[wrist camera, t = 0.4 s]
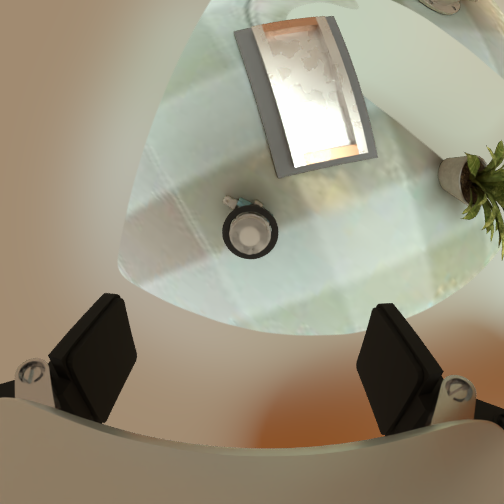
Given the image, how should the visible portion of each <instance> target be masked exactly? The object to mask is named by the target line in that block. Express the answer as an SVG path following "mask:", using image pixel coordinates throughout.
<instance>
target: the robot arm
mask: <svg viewBox="0 0 504 504" xmlns="http://www.w3.org/2000/svg"><path fill="white" fill-rule="evenodd" d="M419 1H420V2H422V3H423V4H424V5H426V6H427V7H429V8H431V9H432V10H435V11H437V12H439V13H442V14H446V15H451V14H454V13H456V12H457V11H459V9H460V0H419ZM471 1H474V2H476V1H477V0H471ZM48 356H49V358H50V360H51V361H50V362H49V363H47V362H46V361H45V360H43V359H39V358H33V359H29V360H26V361H25V362H23V363H22V364H21V365H20V366H19V367H18V368H17V370H16V373H15V380H13V381H10V382H6V383H3V384H0V504H504V409H502V408H500V407H497V406H494V405H491V404H489V403H486V402H483V401H481V400H478V399H476V389H475V387H474V385H473V384H472V383H471V382H470V381H469V380H467V379H466V378H464V377H462V376H458V375H451V376H448V377H446V378H445V379H443V378H442V376H441V375H442V373H443V370H442V369H441V367H440V366H439V364H438V363H437V361H436V360H435V358H434V357H433V356H432V354H431V353H430V351H429V350H428V349H427V347H426V346H425V345H424V343H423V342H422V341H421V339H420V338H419V336H418V335H417V334H416V332H415V331H414V330H413V328H412V327H411V326H410V325H409V323H408V322H407V321H406V319H405V318H404V317H403V315H402V314H401V313H400V312H399V310H398V309H397V308H396V307H395V305H394V304H393V303H386V304H378V305H377V306H376V308H373V310H372V313H371V316H370V320H369V324H368V327H367V331H366V334H365V337H364V341H363V344H362V347H361V350H360V353H359V356H358V360H357V364H356V366H357V371H358V373H359V376H360V379H361V381H362V384H363V386H364V389H365V392H366V394H367V397H368V400H369V402H370V405H371V408H372V410H373V413H374V416H375V418H376V421H377V424H378V427H379V430H380V432H381V434H382V435H385V436H384V437H380V438H374V439H369V440H363V441H358V442H351V443H344V444H336V445H327V446H318V447H304V448H283V449H282V448H280V449H252V448H251V449H250V448H231V447H218V446H207V445H198V444H190V443H183V442H177V441H171V440H165V439H160V438H155V437H150V436H145V435H141V434H136V433H133V432H129V431H125V430H121V429H117V428H114V427H110V426H107V425H104V424H102V422H103V423H105V422H106V421H107V419H108V417H109V415H110V412H111V410H112V408H113V406H114V404H115V402H116V400H117V398H118V396H119V394H120V392H121V389H122V388H123V386H124V383H125V382H126V380H127V377H128V376H129V374H130V372H131V369H132V368H133V366H134V364H135V362H136V358H137V353H136V349H135V345H134V341H133V337H132V334H131V329H130V325H129V321H128V316H127V312H126V307H125V302H124V300H123V299H122V298H120V296H119V295H118V294H110V293H104V294H103V295H102V296H101V297H100V298H99V299H98V300H97V301H96V302H95V303H94V304H93V306H92V307H91V308H90V309H89V310H88V311H87V312H86V313H85V314H84V315H83V316H82V317H81V319H80V320H79V321H78V322H77V323H76V324H75V325H74V326H73V327H72V328H71V329H70V331H69V332H68V333H67V334H66V335H65V336H64V337H63V339H62V340H61V341H60V342H59V343H58V344H57V346H56V347H55V348H54V349H53V350H52V351H51V353H50V354H49V355H48Z"/></svg>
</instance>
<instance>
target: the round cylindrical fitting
mask: <svg viewBox="0 0 504 504" xmlns="http://www.w3.org/2000/svg"><path fill="white" fill-rule="evenodd" d="M227 200H229V201H227ZM223 203H225V204H226V205H228V206H230V208H231V209H233V211H232V212H231V213H230V214H229V215H228V216H227V218H226V220H225V222H224V225H223V230H222V234H223V240H224V242H225V244H226V246H227V247H228V249H229V250H230V251H231V252H232V253H234V254H235V255H237V256H239V257H241V258H245V259H257V258H260V257H263V256H265V255H266V254H268V253H269V252H270V251H271V250H272V249H273V248H274V246H275V244H276V242H277V239H278V226H277V223H276V220H275V219H274V217H273V215H272V214H271V213H270V212H268V211H267V210H266V209H264V208H262V207H263V204H262V203H260V202H259V201H257V200H255V202H254V204H252V203H250V202H248V201H247V200H245V199H243V198H240V199H239V200H237V199H235V198H234V199H232V198H230V197H229V196H226V197H225V198H224V200H223ZM234 218H235V220H234V222H233V223H232V224H231V222H232V220H233V219H234ZM230 225H231V226H230ZM270 225H271V228H272V231H271V230H270V227H269V226H270Z"/></svg>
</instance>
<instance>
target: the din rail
mask: <svg viewBox="0 0 504 504" xmlns="http://www.w3.org/2000/svg"><path fill="white" fill-rule="evenodd" d="M251 28H252V35H253V38H254V40H255V43H256V46H257V49H258V52H259V55H260V58H261V61H262V63H263V66H264V69H265V73H266V76H267V79H268V82H269V85H270V88H271V91H272V94H273V98H274V101H275V104H276V108H277V111H278V114H279V118H280V121H281V125H282V128H283V132H284V135H285V139H286V143H287V146H288V150H289V154H290V157H291V161H292V165H293V167H295V168H296V167H300V166H304V165H309V164H313V163H318V162H323V161H328V160H332V159H337V158H342V157H348V156H353V155H358V154H364V153H368V149H367V145H366V140H365V136H364V132H363V127H362V123H361V120H360V116H359V112H358V108H357V105H356V101H355V98H354V94H353V91H352V88H351V85H350V81H349V78H348V75H347V72H346V69H345V66H344V63H343V61H342V58H341V55H340V52H339V50H338V47H337V44H336V42H335V39H334V37H333V34H332V32H331V30H330V27H329V25H328V22H327V20H326V18H325V16H320V17H309V18H300V19H292V20H285V21H279V22H273V23H267V24H262V25H257V26H253V27H251Z"/></svg>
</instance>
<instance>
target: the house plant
mask: <svg viewBox="0 0 504 504" xmlns="http://www.w3.org/2000/svg"><path fill="white" fill-rule="evenodd" d="M487 148H488V147H487ZM488 150H489V152H490V154H491V156H492V158H493V159H492V160H491V162H490V163H489V164H488V165H487V163H486V162H485V161H484V159H482V158H481V157H480V156H476V155H470V154H467V153H465V154H466V155H467V156H464V157H455V158H447V159H445V160H444V161H443V162H442V163H441V165H440V167H439V172H438V177H439V182H440V185H441V186H442V188H443V189H444V190H445V191H447V192H448V193H450V194H451V195H453V196H454V197H456V198H457V199H459V200H460V201H462V202H463V203H464V204H466V205H467V206H468V207H467V209H465V210H464V212H463V213H462V214H465V213H467V212H468V213H467V215H466V216H465V217H464V218H461V219H468V220H470V219H473V218H474V217H476V215H477V214H478V212H479V210H480V207H481V206H483V209H484V214H485V225H484V227H483V229H485V228H486V229H487V233H488V232H489V231H490V230H491V241H492V237H493V233H494V225H493V221H494V219H496V230H497V229H498V231H499V245H500V243H501V239H502V260H503V255H504V223H503V219H502V216H501V213H500V210H499V207H498V205H497V203H496V201H497V202H498V203H499V204H500V205H501V207H502V208H503V210H504V169H502V168H503V167H504V165H503V166H502V167H501V168H500V169H498V170H496V171H495V169H496V168H497V167H498V166H499V165H500V164H501V163H502V161H503V159H504V146H503V143H502V141H500V142H499V143H498V145H497V147H496V150H495V153H494V154H493V152H492V151H491V149H490V148H488ZM487 198H488V199H489V200H490V201H491V203H492V205H491V203H490V202H489V200H488V199H487ZM492 206H493V207H492ZM491 210H492V212H491ZM483 229H482V230H483ZM487 233H486V234H487ZM498 248H499V247H498Z"/></svg>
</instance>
